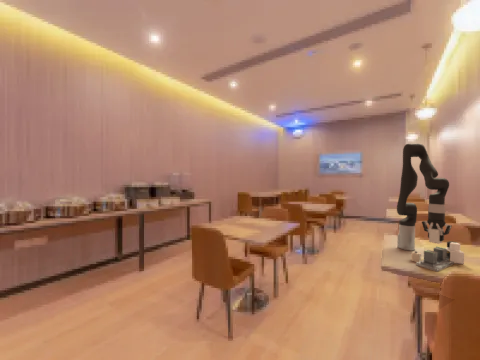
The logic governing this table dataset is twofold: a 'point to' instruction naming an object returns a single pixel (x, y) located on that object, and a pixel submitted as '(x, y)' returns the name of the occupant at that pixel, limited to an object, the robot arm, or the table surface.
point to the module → (434, 236)
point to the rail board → (435, 259)
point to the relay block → (415, 256)
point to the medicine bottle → (454, 252)
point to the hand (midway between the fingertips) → (435, 239)
